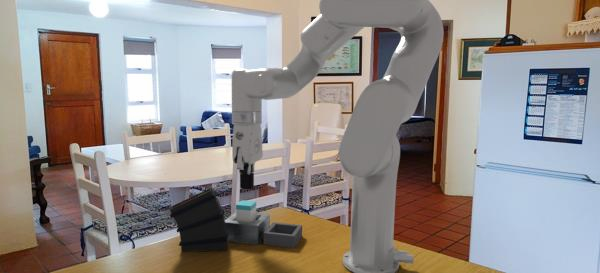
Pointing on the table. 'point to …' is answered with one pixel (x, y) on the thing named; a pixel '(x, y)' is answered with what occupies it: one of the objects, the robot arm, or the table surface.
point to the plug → (246, 211)
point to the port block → (247, 229)
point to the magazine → (201, 223)
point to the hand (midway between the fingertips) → (246, 188)
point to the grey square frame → (283, 235)
